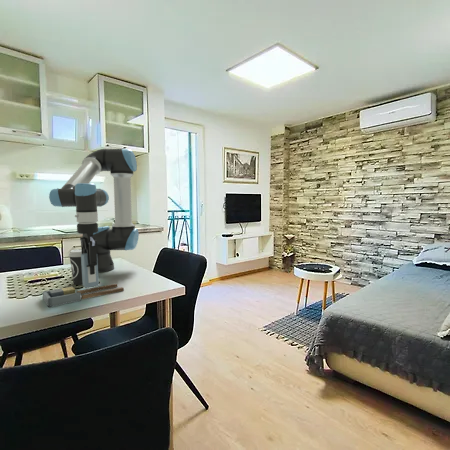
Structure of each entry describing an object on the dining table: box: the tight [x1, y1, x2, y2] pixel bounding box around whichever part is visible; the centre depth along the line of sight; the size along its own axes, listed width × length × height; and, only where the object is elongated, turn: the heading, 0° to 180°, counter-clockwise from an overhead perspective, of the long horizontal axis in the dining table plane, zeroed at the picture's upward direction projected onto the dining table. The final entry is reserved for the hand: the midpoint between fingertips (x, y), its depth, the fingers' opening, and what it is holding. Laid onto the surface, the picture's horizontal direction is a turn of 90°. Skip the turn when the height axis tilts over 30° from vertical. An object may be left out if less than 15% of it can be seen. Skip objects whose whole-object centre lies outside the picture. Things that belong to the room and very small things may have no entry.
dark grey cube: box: [48, 288, 64, 298], centre depth 110 cm, size 4×4×4 cm
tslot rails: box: [76, 283, 125, 300], centre depth 120 cm, size 8×16×1 cm, turn 131°
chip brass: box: [62, 286, 76, 295], centre depth 113 cm, size 4×4×4 cm
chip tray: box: [42, 286, 82, 308], centre depth 111 cm, size 11×10×3 cm
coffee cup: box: [68, 248, 83, 286], centre depth 134 cm, size 10×10×15 cm
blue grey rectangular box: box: [81, 253, 100, 289], centre depth 118 cm, size 4×5×13 cm
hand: (90, 280), depth 118 cm, fingers closed on blue grey rectangular box, 4 cm apart
